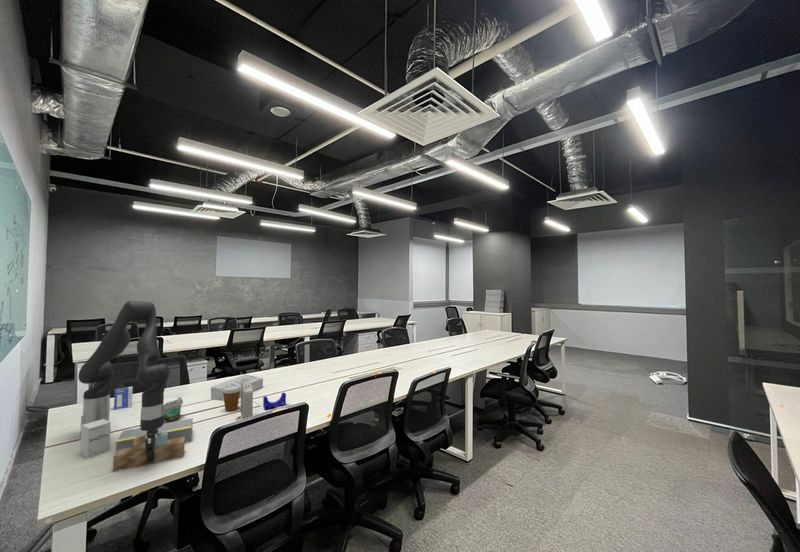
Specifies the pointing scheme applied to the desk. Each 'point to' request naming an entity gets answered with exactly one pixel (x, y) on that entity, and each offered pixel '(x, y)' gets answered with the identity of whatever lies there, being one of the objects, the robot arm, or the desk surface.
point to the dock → (173, 428)
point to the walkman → (123, 398)
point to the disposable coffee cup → (231, 397)
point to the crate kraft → (139, 443)
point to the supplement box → (95, 438)
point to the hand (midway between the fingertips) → (151, 457)
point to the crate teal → (162, 439)
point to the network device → (246, 399)
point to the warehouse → (217, 390)
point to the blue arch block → (273, 404)
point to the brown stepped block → (138, 458)
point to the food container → (172, 410)
